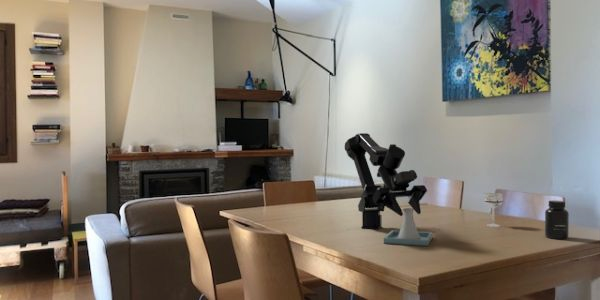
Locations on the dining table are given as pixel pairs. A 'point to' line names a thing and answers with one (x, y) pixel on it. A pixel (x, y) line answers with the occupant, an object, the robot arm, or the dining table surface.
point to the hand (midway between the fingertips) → (411, 214)
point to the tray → (393, 239)
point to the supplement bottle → (556, 221)
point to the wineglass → (493, 203)
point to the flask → (408, 226)
